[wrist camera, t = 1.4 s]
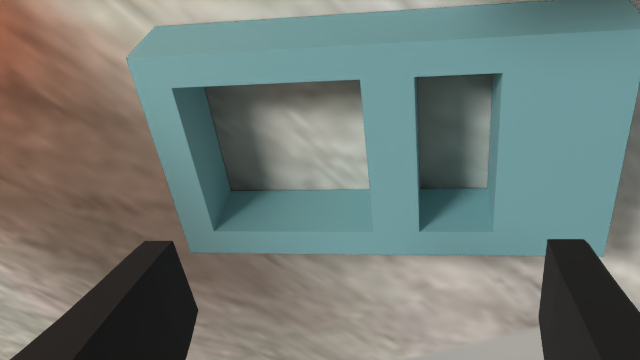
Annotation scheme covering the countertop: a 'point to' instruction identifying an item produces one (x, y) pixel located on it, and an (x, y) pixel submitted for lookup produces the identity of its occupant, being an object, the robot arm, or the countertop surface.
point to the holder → (408, 126)
